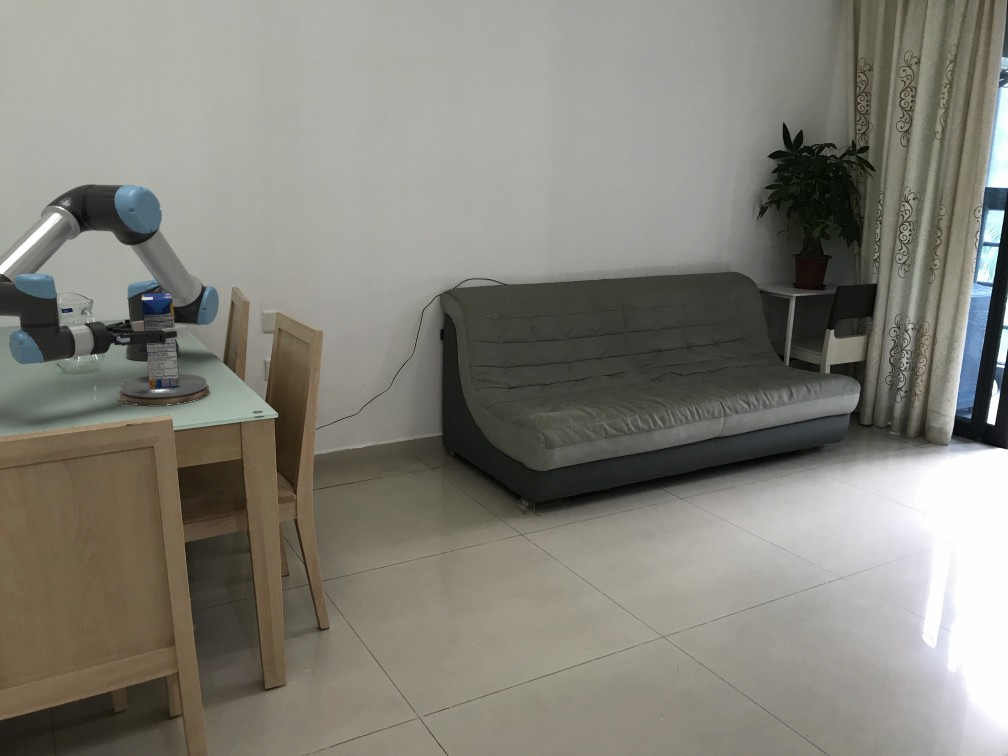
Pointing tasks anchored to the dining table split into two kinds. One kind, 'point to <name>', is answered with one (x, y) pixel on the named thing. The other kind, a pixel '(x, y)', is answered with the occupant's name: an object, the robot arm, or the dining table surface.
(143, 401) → the turntable base
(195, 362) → the dining table surface
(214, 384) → the dining table surface
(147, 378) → the turntable
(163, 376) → the beverage box
